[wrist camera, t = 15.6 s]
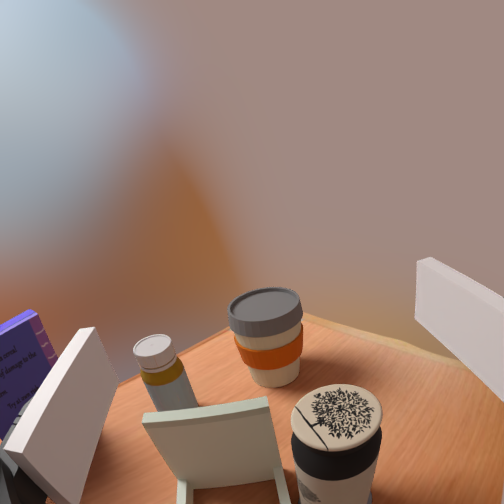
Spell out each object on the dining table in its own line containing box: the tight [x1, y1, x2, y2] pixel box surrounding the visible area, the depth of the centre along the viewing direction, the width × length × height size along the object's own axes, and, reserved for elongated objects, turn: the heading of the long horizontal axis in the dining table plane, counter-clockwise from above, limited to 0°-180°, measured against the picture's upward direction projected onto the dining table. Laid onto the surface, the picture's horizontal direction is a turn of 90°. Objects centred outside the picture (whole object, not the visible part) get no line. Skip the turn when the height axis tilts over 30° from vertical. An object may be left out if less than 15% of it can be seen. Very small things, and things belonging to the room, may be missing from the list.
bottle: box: [133, 334, 199, 412], centre depth 46 cm, size 7×7×15 cm
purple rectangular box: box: [0, 309, 58, 441], centre depth 36 cm, size 17×5×24 cm, turn 150°
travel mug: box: [291, 384, 383, 504], centre depth 25 cm, size 8×8×18 cm
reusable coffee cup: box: [227, 287, 303, 388], centre depth 54 cm, size 13×13×15 cm
